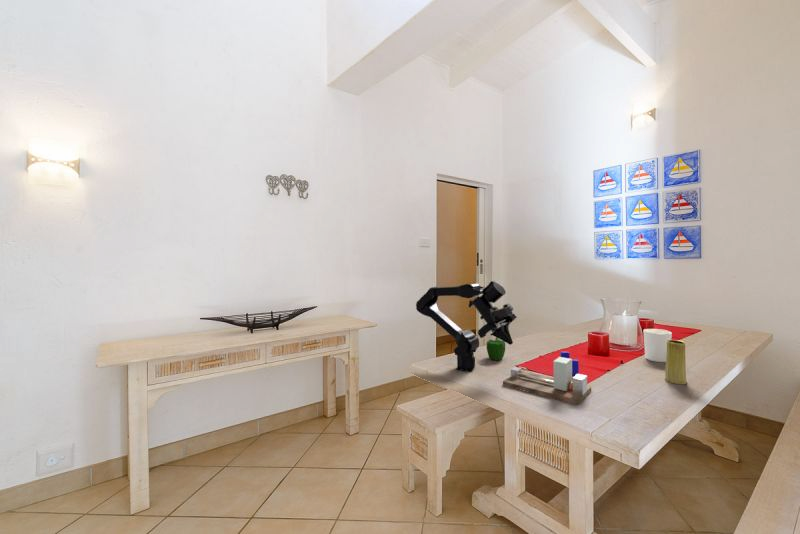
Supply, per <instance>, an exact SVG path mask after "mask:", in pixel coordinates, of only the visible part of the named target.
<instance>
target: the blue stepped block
mask: <svg viewBox="0 0 800 534" xmlns="http://www.w3.org/2000/svg"><path fill="white" fill-rule="evenodd" d="M559 357H564V358H569V359H571V357H570V352H569V351H560V356H559ZM579 363H580V361H579V360H578V359H572V375H576V374H580V372H579V366H580V365H579Z"/></svg>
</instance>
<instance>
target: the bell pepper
mask: <svg viewBox="0 0 800 534" xmlns="http://www.w3.org/2000/svg"><path fill="white" fill-rule="evenodd" d="M486 351H487V356H488V357H489V359H492V360H495V361H501V360H502V359H503V358H504V357H505V352H506V342H504V341H503V340H501V339H499V338H497V337H495V339H494V340H493V339H489V340H488V341H487V342H486Z"/></svg>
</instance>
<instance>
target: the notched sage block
mask: <svg viewBox="0 0 800 534" xmlns="http://www.w3.org/2000/svg"><path fill="white" fill-rule="evenodd" d="M572 360H573V359H572V358H570V359H569V358H564V357H560V356H558V357H557V358H556V359H554V360H553V362H552V363H553V378H554V388H555V389H559V390H563V391H567V390H568V384H569V382H570V381H572V378H573V376H572Z"/></svg>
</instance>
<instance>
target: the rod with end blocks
mask: <svg viewBox="0 0 800 534" xmlns="http://www.w3.org/2000/svg"><path fill="white" fill-rule="evenodd" d="M521 371H522V368H521V367H517V366H514V367H512V368H510V376H511V378H515V379H518V378H519V377H523V378H528V379H532V380H536V381H540V382H545V383H549V384H553V385H554V381H552V380H547V379H543V378H539V377H534V376H530V375H525V374H521ZM587 386H588V375H586V374H582V373H579V374H576V375H575V376H572V381H570V382H569V384H568V390H569V391H573V393H574V394H578V395H582V396H583V395H584V394H585V392H586V391H587Z"/></svg>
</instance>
